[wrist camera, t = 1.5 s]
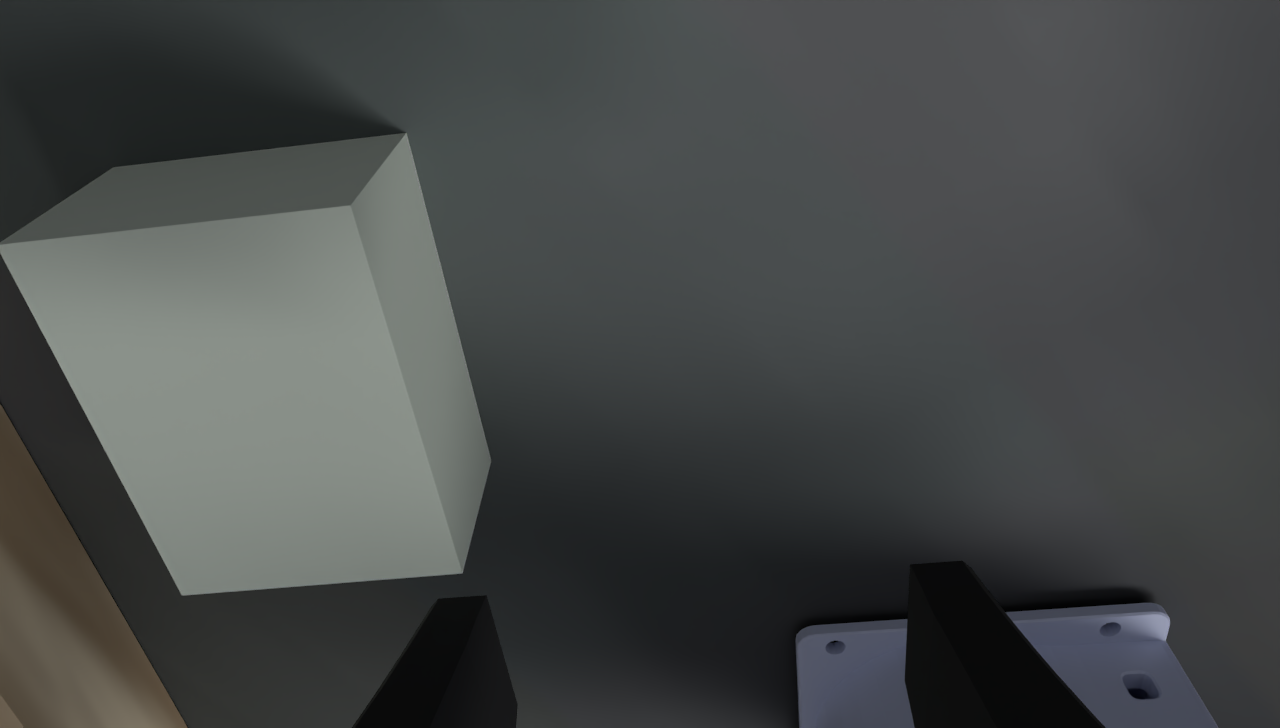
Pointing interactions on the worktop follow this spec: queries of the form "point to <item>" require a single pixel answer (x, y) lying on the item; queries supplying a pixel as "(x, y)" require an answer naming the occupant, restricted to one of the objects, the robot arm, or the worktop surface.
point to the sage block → (267, 361)
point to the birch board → (62, 619)
